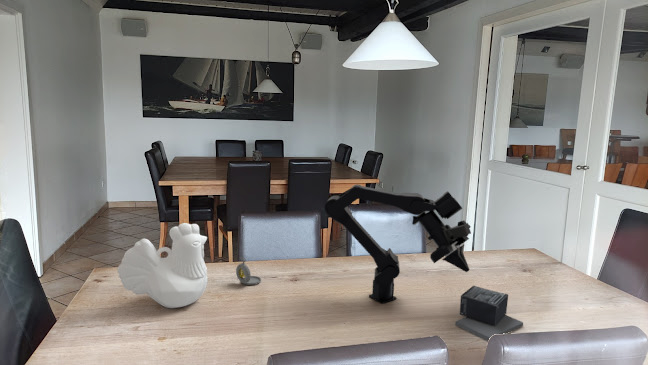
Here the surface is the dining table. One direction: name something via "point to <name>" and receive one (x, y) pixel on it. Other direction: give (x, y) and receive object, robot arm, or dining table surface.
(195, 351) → the dining table surface
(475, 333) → the mat
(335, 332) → the dining table surface
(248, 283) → the pocket watch
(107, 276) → the dining table surface
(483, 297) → the small box
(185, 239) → the decorative rooster
